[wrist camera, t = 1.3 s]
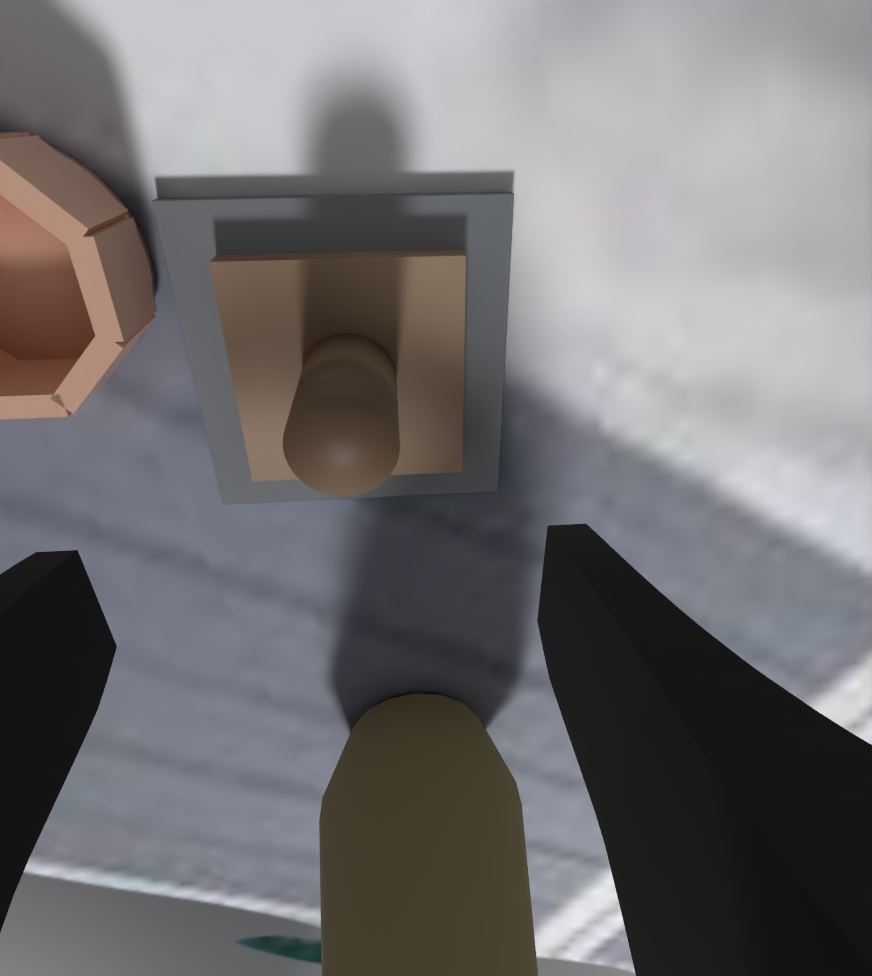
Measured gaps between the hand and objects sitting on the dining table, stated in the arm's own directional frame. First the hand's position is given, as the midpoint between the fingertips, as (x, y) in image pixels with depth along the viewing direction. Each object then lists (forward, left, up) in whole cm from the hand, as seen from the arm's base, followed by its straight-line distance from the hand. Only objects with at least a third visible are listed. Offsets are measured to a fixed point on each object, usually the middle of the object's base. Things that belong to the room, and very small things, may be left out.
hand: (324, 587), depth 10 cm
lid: (0, 0, -10) cm, 10 cm away
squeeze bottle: (-18, -1, -10) cm, 20 cm away
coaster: (0, 0, -10) cm, 10 cm away
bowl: (+3, +8, -10) cm, 13 cm away
